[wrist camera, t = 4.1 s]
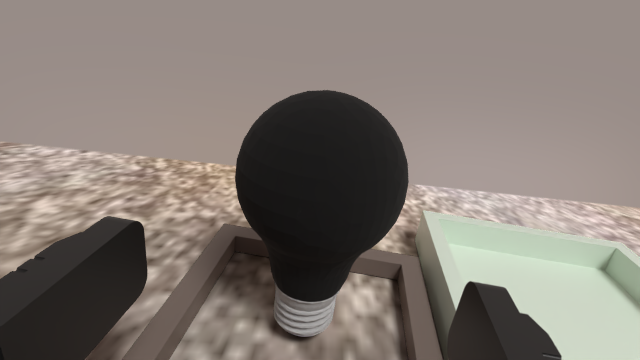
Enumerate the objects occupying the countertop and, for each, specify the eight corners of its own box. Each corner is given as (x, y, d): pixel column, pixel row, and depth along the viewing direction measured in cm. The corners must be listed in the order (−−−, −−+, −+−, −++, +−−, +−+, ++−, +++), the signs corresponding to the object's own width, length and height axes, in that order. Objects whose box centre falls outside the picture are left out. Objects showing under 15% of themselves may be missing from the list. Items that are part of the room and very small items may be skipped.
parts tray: (460, 428, 12) (479, 383, 11) (414, 239, 23) (422, 210, 22) (843, 505, 11) (895, 463, 10) (605, 272, 22) (621, 242, 21)
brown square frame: (84, 437, 10) (80, 414, 10) (223, 238, 20) (224, 223, 20) (465, 518, 10) (475, 498, 9) (413, 271, 20) (418, 256, 19)
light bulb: (260, 272, 18) (274, 71, 14) (373, 299, 17) (421, 93, 13) (202, 368, 13) (200, 89, 9) (362, 414, 12) (436, 128, 8)
